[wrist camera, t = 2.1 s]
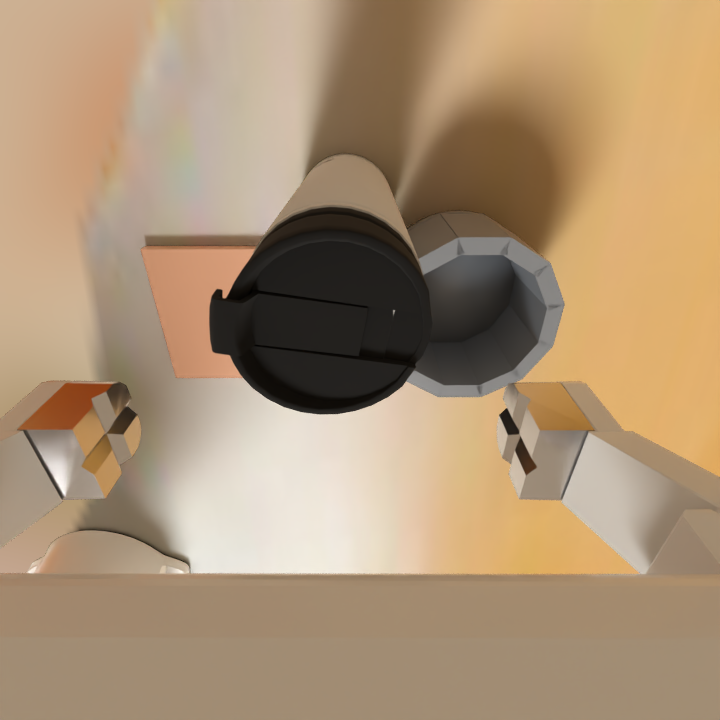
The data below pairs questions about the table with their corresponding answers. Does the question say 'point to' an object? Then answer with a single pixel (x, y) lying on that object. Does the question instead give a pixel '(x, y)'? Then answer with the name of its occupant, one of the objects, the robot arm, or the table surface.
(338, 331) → the travel mug
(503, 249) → the faceted gray cup
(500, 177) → the table surface
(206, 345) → the terracotta tile
